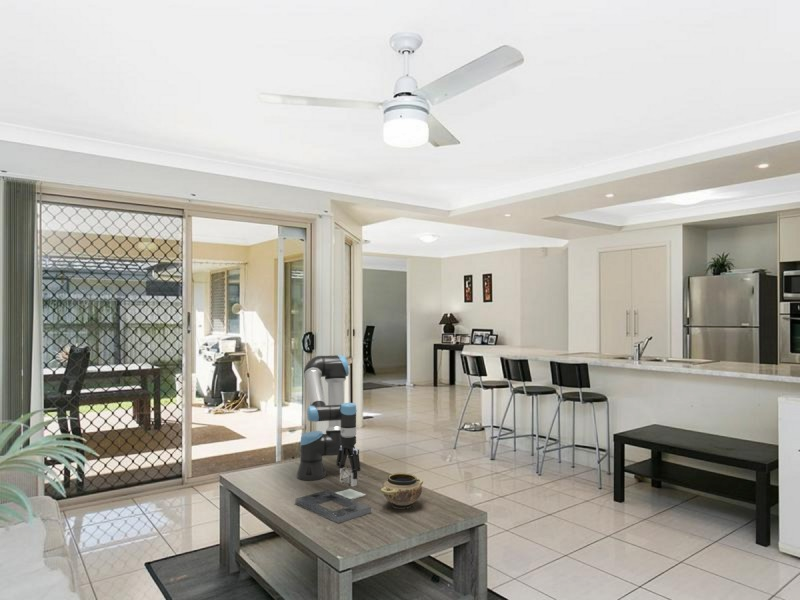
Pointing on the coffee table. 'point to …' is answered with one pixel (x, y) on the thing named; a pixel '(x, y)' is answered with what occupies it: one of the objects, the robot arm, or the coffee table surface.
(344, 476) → the game die
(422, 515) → the coffee table surface
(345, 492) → the pale green flat panel
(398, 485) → the ceramic bowl
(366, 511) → the dark grey rectangular frame
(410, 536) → the coffee table surface
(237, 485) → the coffee table surface
